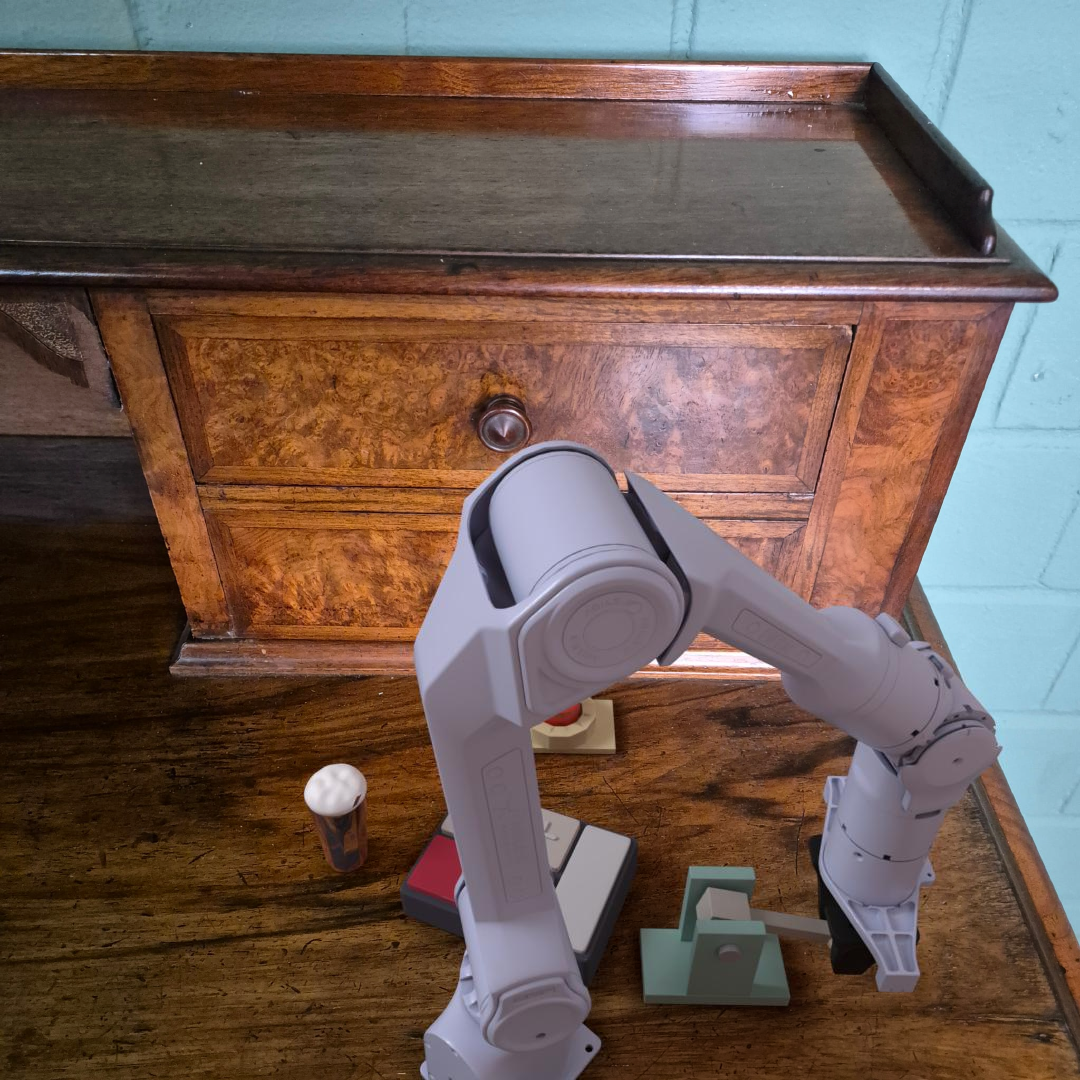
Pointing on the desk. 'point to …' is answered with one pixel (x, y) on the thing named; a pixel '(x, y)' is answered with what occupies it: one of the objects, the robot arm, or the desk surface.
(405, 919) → the desk surface
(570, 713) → the stop button
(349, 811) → the milkshake
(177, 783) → the desk surface
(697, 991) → the bracket
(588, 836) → the calculator
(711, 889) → the lever
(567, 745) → the button box
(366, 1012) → the desk surface
